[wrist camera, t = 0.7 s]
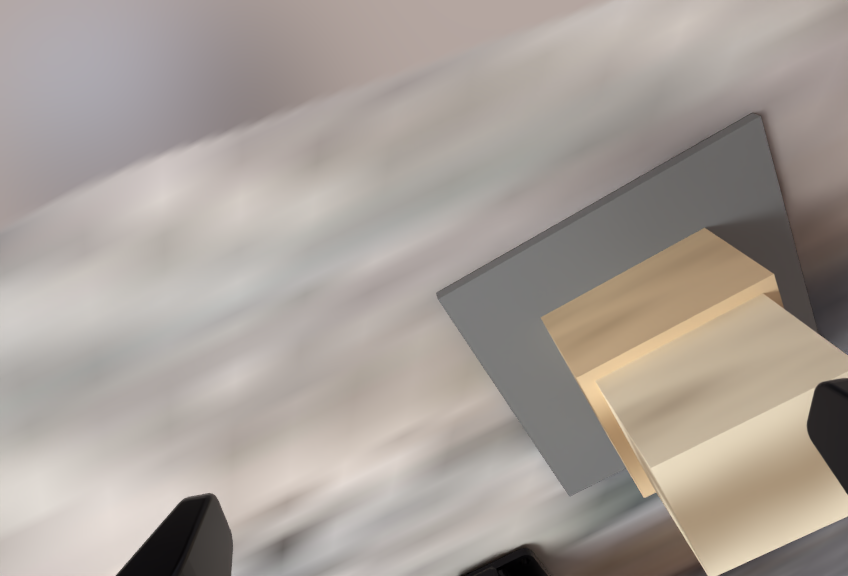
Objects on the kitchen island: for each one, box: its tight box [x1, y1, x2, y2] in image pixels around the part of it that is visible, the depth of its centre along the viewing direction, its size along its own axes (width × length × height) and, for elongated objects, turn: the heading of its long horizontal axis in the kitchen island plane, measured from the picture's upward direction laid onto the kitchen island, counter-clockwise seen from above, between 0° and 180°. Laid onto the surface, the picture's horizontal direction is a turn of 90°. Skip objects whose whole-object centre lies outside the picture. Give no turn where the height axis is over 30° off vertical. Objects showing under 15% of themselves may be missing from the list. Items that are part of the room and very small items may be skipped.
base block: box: [541, 228, 784, 498], centre depth 22 cm, size 7×7×4 cm
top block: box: [596, 293, 848, 576], centre depth 19 cm, size 6×6×4 cm
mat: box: [436, 113, 818, 497], centre depth 24 cm, size 13×13×1 cm
